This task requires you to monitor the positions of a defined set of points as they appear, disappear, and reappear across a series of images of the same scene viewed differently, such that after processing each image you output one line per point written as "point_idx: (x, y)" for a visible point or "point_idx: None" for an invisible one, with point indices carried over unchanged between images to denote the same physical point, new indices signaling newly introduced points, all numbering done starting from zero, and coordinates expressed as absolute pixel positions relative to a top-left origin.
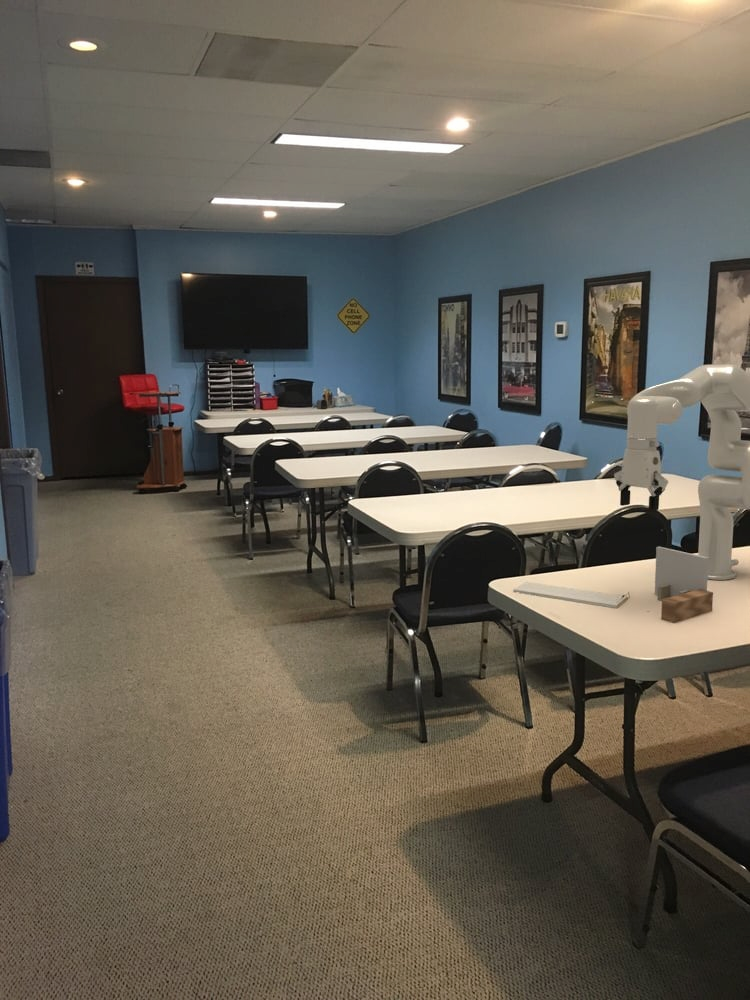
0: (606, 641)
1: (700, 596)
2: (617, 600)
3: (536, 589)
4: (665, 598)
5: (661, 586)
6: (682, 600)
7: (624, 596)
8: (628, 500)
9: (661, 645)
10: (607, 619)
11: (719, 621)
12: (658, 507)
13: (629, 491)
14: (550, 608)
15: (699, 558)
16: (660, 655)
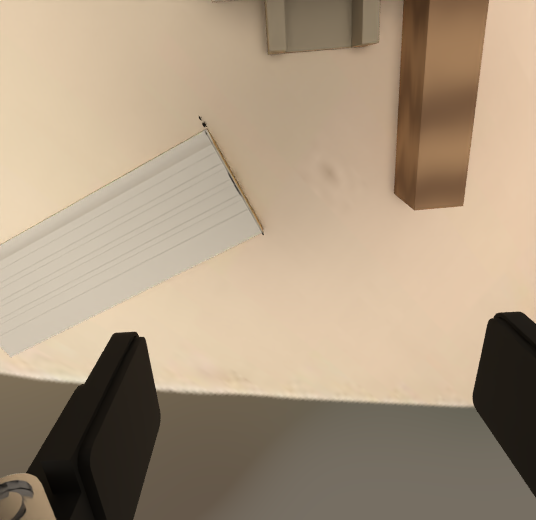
0: (406, 387)
1: (480, 64)
2: (227, 196)
3: (31, 310)
4: (285, 30)
5: (278, 40)
6: (462, 161)
7: (209, 151)
8: (136, 382)
9: None
10: (312, 303)
11: (520, 63)
12: (530, 321)
13: (95, 468)
14: (177, 356)
15: None
16: None
